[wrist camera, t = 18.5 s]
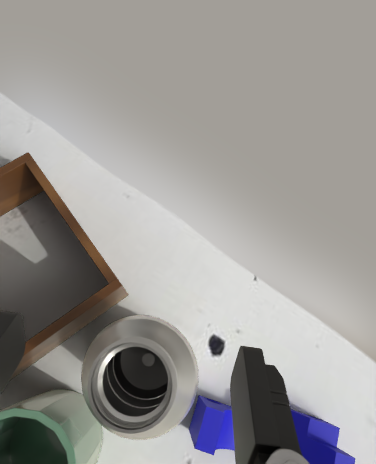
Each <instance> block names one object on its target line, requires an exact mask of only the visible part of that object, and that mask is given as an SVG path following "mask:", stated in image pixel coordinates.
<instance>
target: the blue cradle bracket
mask: <svg viewBox="0 0 376 464" xmlns="http://www.w3.org/2000/svg"><path fill="white" fill-rule="evenodd" d="M291 413H292V417H293V421H294V425H295V429H296V433H297V438H298V442H299V446H300V450H301V453H302V455H303V457H304V458H305V459H306V460H307V461H308V462H309V464H355V458H354V457H352V456H350V455H349V454H347V453H345V452H344V451H342V450H340V449H339V448H337V441H338V435H339V429H340V428H338V427H336V426H334V425H332V424H330V423H328V422H326V421H323V420H321V419H318V418H315V417H312V416H309V415H306V414H303V413H300V412H298V411H295V410H292V409H291ZM189 431H190V434H191V438H192V441H193V444H194V447H195V449H198V450H201V451H203V452H206V453H209V454H212V455H214V453H215V450H216V449H230V450H235V446H234V433H233V420H232V407H231V406H228V405H226V404H223V403H220V402H217V401H214V400H211V399H208V398H206V397H203V396H200V395H199V396H198V400H197V403H196V407H195V410H194V414H193V417H192V421H191V424H190V427H189Z"/></svg>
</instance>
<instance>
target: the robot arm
mask: <svg viewBox="0 0 376 464" xmlns="http://www.w3.org/2000/svg"><path fill="white" fill-rule="evenodd" d="M24 352H25V333H24V322H23V315H22V314H21V313H15V312H8V311H1V310H0V395H1V393H2V392H3V390H4V388H5V387H6V385H7V384H8V382H9V380H10V379H11V377H12V375H13V374H14V372H15V370H16V369H17V367H18V365H19V364H20V362H21V360H22V358H23V355H24ZM230 393H231V407H232V420H233V433H234V446H235V459H236V464H309V462H308V461H307V460H306V459H305V458H304V457H303V455H302V453H301V450H300V446H299V442H298V438H297V433H296V429H295V425H294V421H293V417H292V413H291V409H290V406H289V400H288V396H287V395H286V388H285V384H284V380H283V378H282V376H281V375H280V373H279V372H278V370H277V369H276V367H275V366H273V365H266V364H265V362H264V356H263V352H262V349H260V348H253V347H246V346H241V347H240V349H239V352H238V355H237V359H236V362H235V365H234V369H233V372H232V376H231V384H230Z"/></svg>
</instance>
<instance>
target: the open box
mask: <svg viewBox="0 0 376 464" xmlns="http://www.w3.org/2000/svg"><path fill="white" fill-rule="evenodd" d="M42 191H45V192H46V194H47V195H48V197H49V198H50V199H51V201H52V202H53V204H54V205H55V207H56V208H57V209H58V211H59V212H60V214H61V215H62V217H63V218H64V220H65V221H66V222H67V224H68V225H69V227H70V228H71V230H72V231H73V233H74V234H75V235H76V237H77V238H78V240H79V241H80V243H81V244H82V245H83V247H84V248H85V250H86V251H87V253H88V254H89V256H90V257H91V258H92V260H93V261H94V263H95V264H96V266H97V267H98V269H99V270H100V271H101V273H102V274H103V276H104V277H105V279H106V280H107V281H108V283H109V284H108V285H107V286H105V287H104V288H102V289H101V290H99V291H98V292H97V293H95V294H94V295H92V296H91V297H89V298H88V299H87V300H85V301H84V302H82V303H81V304H79V305H78V306H77V307H75V308H74V309H72V310H71V311H69V312H68V313H67V314H65V315H64V316H62V317H61V318H59V319H58V320H57V321H55V322H54V323H52V324H51V325H49V326H48V327H47V328H45V329H44V330H42V331H41V332H39V333H38V334H37V335H35V336H34V337H32V338H31V339H29V340H28V341H27V342H25V352H24V355H23V358H22V360H21V362H20V364H19V365H18V367H17V369H16V370H15V372H14V374H13V375H12V377H11V379H13V378H14V377H15V376H17V375H18V374H20V373H21V372H22V371H24V370H25V369H27V368H28V367H29V366H31V365H32V364H33V363H35V362H36V361H38V360H39V359H40V358H42V357H43V356H45V355H46V354H47V353H49V352H50V351H52V350H53V349H54V348H56V347H57V346H58V345H60V344H61V343H63V342H64V341H65V340H67V339H68V338H70V337H71V336H72V335H74V334H75V333H76V332H78V331H79V330H81V329H82V328H83V327H85V326H86V325H88V324H89V323H90V322H92V321H93V320H95V319H96V318H97V317H99V316H100V315H101V314H103V313H104V312H106V311H107V310H108V309H110V308H111V307H113V306H114V305H115V304H117V303H118V302H119V301H121V300H122V299H124V298H125V297H126V296H128V293H127V292H126V290H125V289H124V287H123V286H122V285H121V283H120V282H119V280H118V279H117V277H116V276H115V275H114V273H113V272H112V270H111V269H110V267H109V266H108V265H107V263H106V262H105V260H104V259H103V257H102V256H101V255H100V253H99V252H98V250H97V249H96V248H95V246H94V245H93V243H92V242H91V240H90V239H89V238H88V236H87V235H86V233H85V232H84V230H83V229H82V228H81V226H80V225H79V223H78V222H77V221H76V219H75V218H74V216H73V215H72V213H71V212H70V211H69V209H68V208H67V206H66V205H65V203H64V202H63V201H62V199H61V198H60V196H59V195H58V193H57V192H56V191H55V189H54V188H53V186H52V185H51V184H50V182H49V181H48V179H47V178H46V176H45V175H44V174H43V172H42V171H41V169H40V168H39V166H38V165H37V164H36V162H35V161H34V159H33V158H32V157H31V155H30V154H29V152H28V153H26V154H24V155H22V156H21V157H19V158H17V159H15V160H13V161H12V162H10V163H8V164H6V165H4V166H3V167H1V168H0V216H2V215H3V214H5V213H7V212H9V211H10V210H12V209H14V208H15V207H17V206H19V205H20V204H22V203H24V202H25V201H27V200H29V199H30V198H32V197H34V196H36V195H37V194H39V193H41V192H42ZM11 379H10V380H11ZM10 380H9V381H10Z"/></svg>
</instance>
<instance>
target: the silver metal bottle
mask: <svg viewBox="0 0 376 464" xmlns="http://www.w3.org/2000/svg"><path fill="white" fill-rule="evenodd" d="M81 382H82V391H83V395H84V398H85V401H86V404H87V406H88V408H89V409H90V411H91V413H92V415H93V416H94V417H95V418H96V420H97V421H98V422H99V423H100V424H101V425H102V426H103V427H105V428H106V429H107V430H109V431H110V432H112V433H114V434H116V435H118V436H120V437H123V438H128V439H132V440H147V439H152V438H156V437H159V436H161V435H163V434H165V433H168V432H169V431H170V430H172V429H173V428H175V427H176V426H177V425H178V424H179V423H180V422H181V421H182V420H183V419H184V418H185V417H186V415H187V414H188V412H189V410H190V409H191V407H192V405H193V402H194V400H195V397H196V394H197V388H198V382H199V380H198V366H197V361H196V357H195V355H194V352H193V350H192V347H191V346H190V344H189V342H188V341H187V339H186V338H185V337H184V335H183V334H182V333H181V332H180V331H179V330H178V329H177V328H175V327H174V326H173V325H171V324H170V323H168V322H166V321H164V320H162V319H160V318H156V317H152V316H148V315H134V316H128V317H124V318H122V319H119V320H116V321H114V322H113V323H111V324H110V325H108V326H106V327H105V328H104V329H103V330H102V331H101V332H100V333H99V334H98V335H97V336H96V337H95V339H94V340H93V341H92V343H91V344H90V346H89V348H88V350H87V352H86V354H85V358H84V362H83V365H82V375H81Z"/></svg>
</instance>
